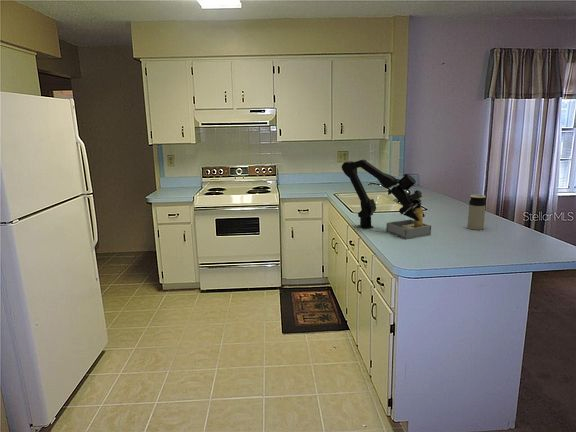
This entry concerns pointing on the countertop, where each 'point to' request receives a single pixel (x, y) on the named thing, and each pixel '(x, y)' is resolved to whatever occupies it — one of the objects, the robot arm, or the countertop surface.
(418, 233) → the bore box
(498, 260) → the countertop surface
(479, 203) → the travel mug
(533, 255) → the countertop surface
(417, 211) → the peg
